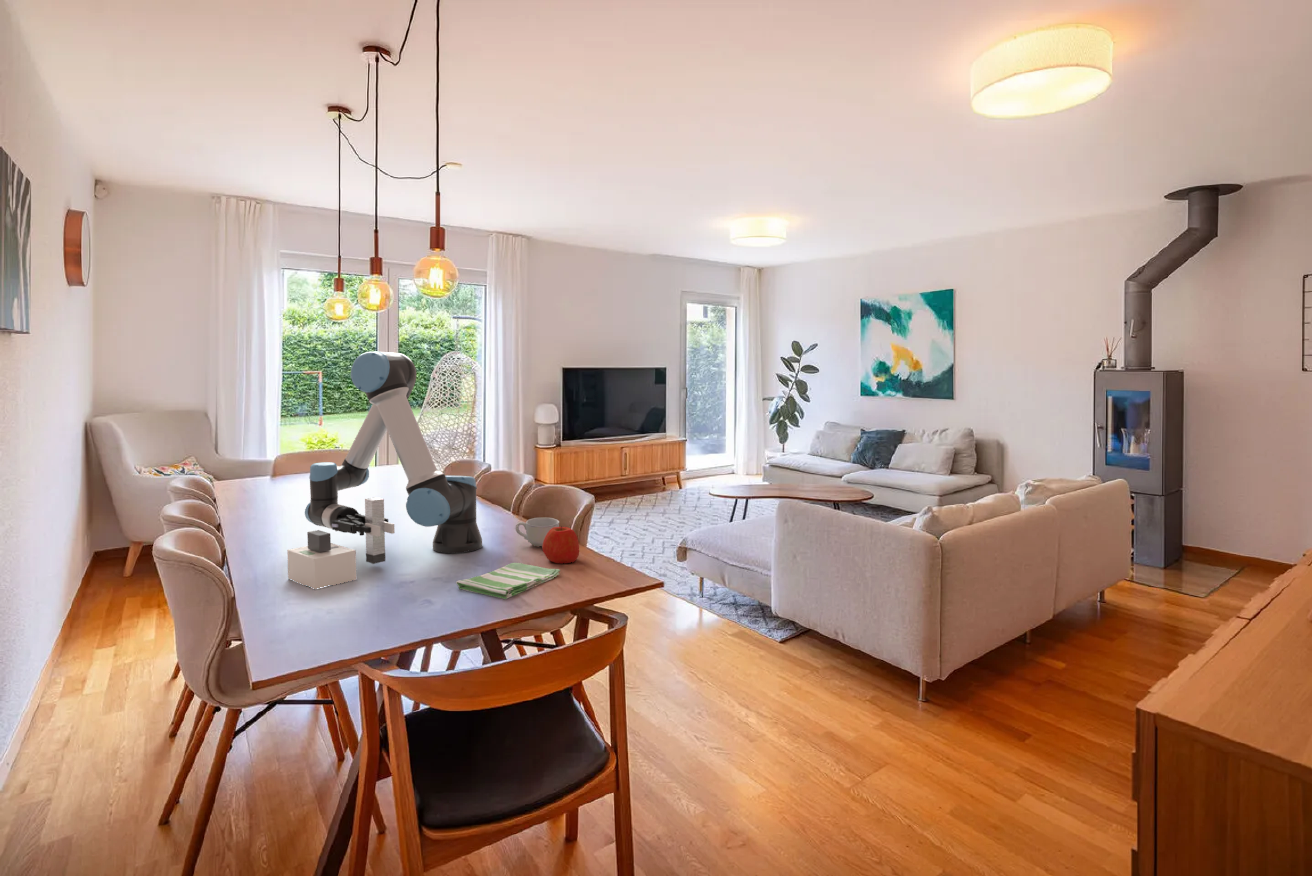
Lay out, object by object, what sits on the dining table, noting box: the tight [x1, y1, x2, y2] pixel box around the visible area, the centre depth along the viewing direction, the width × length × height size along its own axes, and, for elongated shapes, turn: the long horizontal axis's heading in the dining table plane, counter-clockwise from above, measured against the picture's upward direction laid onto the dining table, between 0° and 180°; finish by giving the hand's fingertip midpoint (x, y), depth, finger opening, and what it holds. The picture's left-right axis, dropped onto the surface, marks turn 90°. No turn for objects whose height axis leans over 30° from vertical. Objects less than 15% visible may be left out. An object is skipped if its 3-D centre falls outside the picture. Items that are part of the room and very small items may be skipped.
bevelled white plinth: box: [287, 542, 357, 590], centre depth 179 cm, size 11×14×8 cm
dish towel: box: [455, 562, 561, 600], centre depth 180 cm, size 18×23×3 cm
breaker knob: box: [307, 529, 332, 552], centre depth 178 cm, size 3×6×4 cm, turn 54°
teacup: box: [515, 517, 560, 547], centre depth 219 cm, size 14×11×8 cm
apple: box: [541, 526, 580, 565], centre depth 200 cm, size 11×11×11 cm
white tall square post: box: [364, 497, 386, 565], centre depth 191 cm, size 4×4×18 cm
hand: (386, 530), depth 188 cm, fingers closed on white tall square post, 4 cm apart
